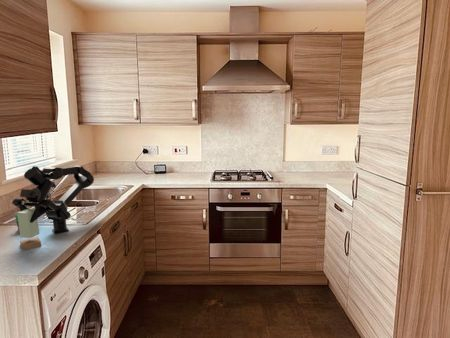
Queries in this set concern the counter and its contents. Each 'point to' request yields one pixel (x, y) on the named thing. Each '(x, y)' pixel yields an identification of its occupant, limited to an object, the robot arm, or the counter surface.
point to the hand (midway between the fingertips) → (25, 222)
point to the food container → (17, 215)
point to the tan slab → (30, 243)
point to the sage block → (27, 224)
